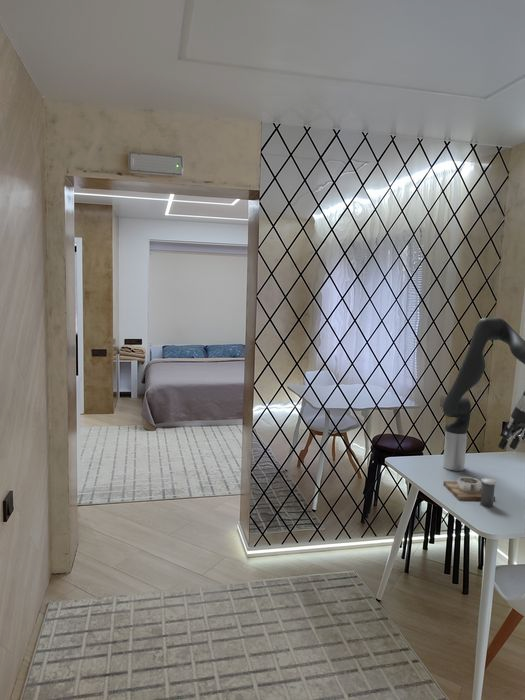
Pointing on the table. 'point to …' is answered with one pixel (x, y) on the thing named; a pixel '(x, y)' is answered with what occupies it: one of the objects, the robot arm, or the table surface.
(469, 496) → the mount board
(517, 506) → the table surface
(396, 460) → the table surface
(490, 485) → the white capped grey cylinder
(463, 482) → the faceted white ring
